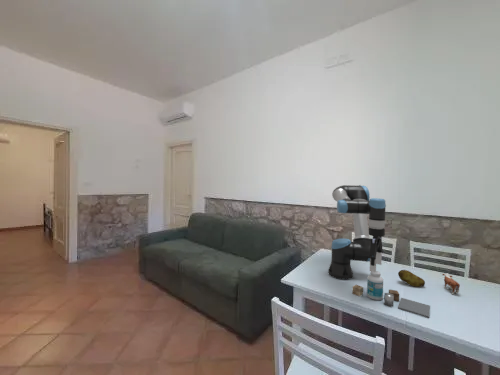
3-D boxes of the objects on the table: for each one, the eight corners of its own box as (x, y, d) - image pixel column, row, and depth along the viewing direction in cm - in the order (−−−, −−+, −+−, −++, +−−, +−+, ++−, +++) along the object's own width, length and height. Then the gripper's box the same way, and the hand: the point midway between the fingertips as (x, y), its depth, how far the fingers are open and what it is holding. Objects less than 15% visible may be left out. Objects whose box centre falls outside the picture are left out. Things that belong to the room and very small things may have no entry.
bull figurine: (449, 286, 137) (449, 272, 137) (461, 296, 125) (461, 281, 124) (440, 285, 139) (440, 271, 139) (451, 295, 126) (451, 280, 126)
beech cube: (352, 293, 127) (352, 286, 127) (355, 291, 130) (355, 284, 129) (359, 296, 124) (359, 289, 124) (363, 294, 127) (363, 287, 126)
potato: (422, 290, 131) (423, 276, 131) (396, 283, 140) (396, 270, 140) (425, 286, 137) (426, 272, 137) (400, 279, 146) (400, 266, 146)
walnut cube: (390, 300, 120) (390, 292, 120) (388, 296, 124) (388, 289, 124) (399, 301, 119) (399, 294, 119) (397, 298, 123) (397, 290, 123)
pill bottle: (364, 293, 127) (365, 269, 127) (378, 294, 127) (378, 269, 126) (371, 300, 120) (371, 274, 119) (385, 301, 119) (386, 275, 119)
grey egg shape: (383, 304, 116) (383, 294, 116) (385, 301, 119) (385, 292, 119) (392, 307, 113) (393, 297, 113) (394, 304, 116) (394, 294, 116)
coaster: (397, 308, 112) (397, 307, 112) (401, 299, 121) (401, 297, 121) (428, 318, 105) (429, 316, 105) (430, 307, 114) (430, 305, 114)
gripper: (379, 232, 110) (378, 276, 111) (389, 225, 129) (388, 263, 130) (362, 230, 115) (361, 272, 115) (374, 223, 134) (373, 260, 135)
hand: (375, 267), depth 123 cm, fingers open, 13 cm apart
